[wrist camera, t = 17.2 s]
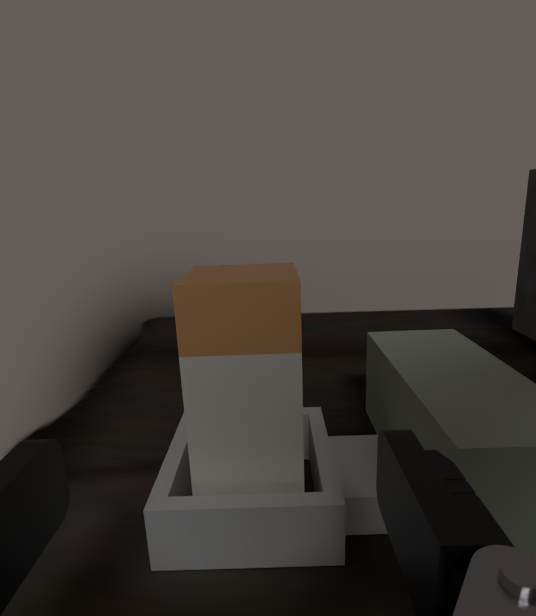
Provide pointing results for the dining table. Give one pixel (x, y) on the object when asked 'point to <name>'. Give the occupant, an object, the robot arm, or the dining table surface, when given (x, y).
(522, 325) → the hip flask
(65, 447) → the dining table surface
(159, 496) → the grey boxy piece
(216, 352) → the orange and grey block
